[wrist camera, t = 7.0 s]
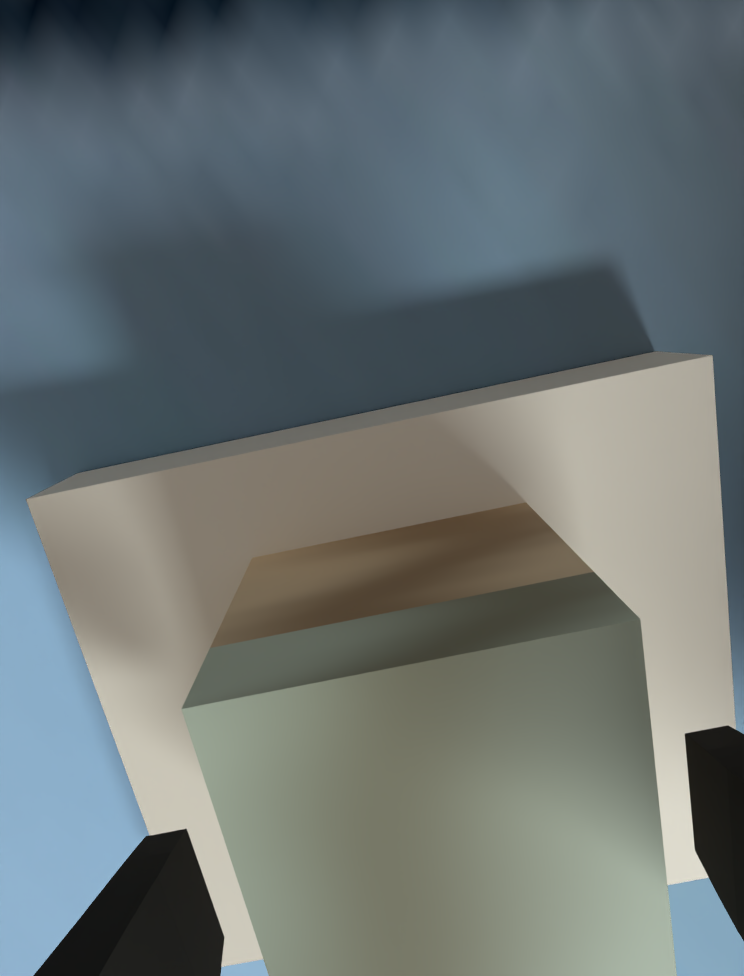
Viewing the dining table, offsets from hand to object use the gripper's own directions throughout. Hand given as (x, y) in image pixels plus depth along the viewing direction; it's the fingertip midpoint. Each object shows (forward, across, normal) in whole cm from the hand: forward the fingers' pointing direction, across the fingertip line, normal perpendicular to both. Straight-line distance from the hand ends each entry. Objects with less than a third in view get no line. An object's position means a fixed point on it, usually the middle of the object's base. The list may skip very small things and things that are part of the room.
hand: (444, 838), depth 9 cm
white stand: (+5, 0, 0) cm, 5 cm away
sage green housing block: (+3, 0, 0) cm, 3 cm away
